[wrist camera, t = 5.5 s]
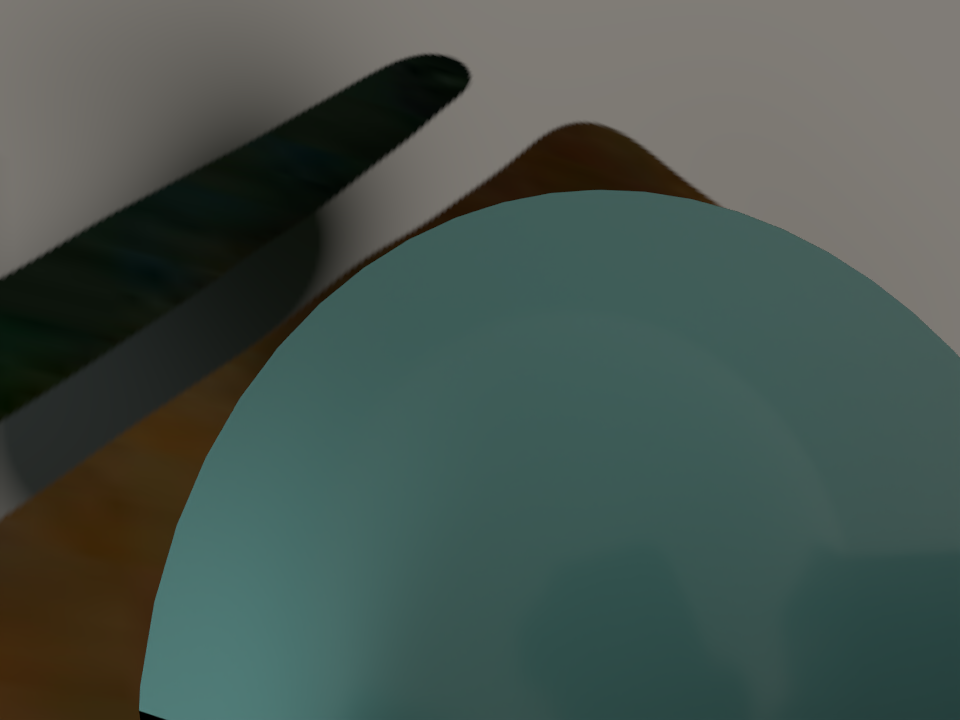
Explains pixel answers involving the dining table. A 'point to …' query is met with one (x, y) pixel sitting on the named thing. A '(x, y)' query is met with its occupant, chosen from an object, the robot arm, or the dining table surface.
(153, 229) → the dining table surface
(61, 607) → the dining table surface
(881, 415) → the teal rounded block
